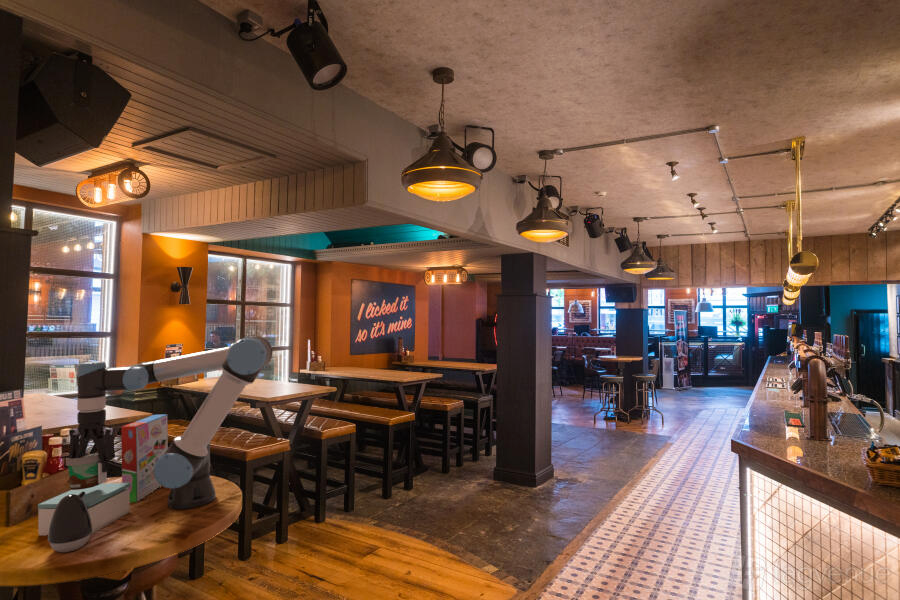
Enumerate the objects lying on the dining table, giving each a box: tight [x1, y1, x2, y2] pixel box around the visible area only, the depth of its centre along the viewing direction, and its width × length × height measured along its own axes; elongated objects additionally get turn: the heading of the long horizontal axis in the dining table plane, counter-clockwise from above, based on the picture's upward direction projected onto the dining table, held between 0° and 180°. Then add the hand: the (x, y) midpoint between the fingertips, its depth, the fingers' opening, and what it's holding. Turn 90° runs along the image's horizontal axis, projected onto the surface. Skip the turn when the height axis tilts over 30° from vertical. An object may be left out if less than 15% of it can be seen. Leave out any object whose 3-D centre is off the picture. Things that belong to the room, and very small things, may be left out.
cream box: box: [37, 488, 131, 536], centre depth 164 cm, size 16×18×8 cm
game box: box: [120, 413, 169, 503], centre depth 192 cm, size 21×6×27 cm, turn 0°
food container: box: [65, 451, 101, 490], centre depth 164 cm, size 12×6×10 cm, turn 169°
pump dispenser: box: [47, 492, 92, 553], centre depth 147 cm, size 10×10×15 cm
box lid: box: [37, 482, 131, 509], centre depth 164 cm, size 16×18×1 cm
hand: (92, 482), depth 164 cm, fingers closed on food container, 6 cm apart
